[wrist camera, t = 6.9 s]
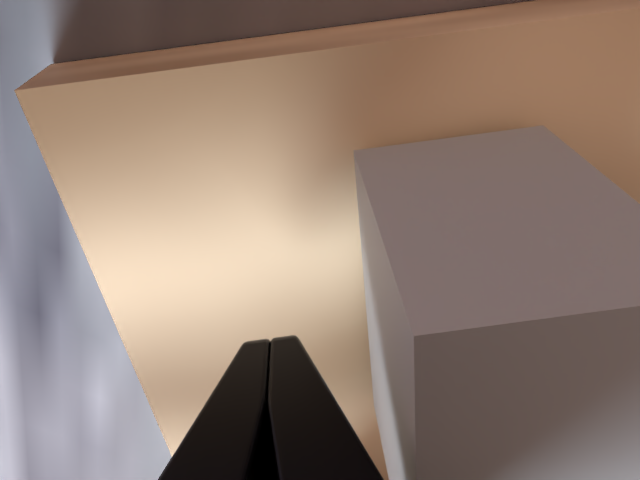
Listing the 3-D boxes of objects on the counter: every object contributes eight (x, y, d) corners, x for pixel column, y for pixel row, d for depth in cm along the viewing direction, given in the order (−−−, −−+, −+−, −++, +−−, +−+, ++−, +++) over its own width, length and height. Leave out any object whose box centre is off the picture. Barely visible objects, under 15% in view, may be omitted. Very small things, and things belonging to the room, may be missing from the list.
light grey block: (600, 374, 11) (745, 582, 8) (373, 404, 11) (418, 626, 8) (669, 108, 8) (967, 262, 5) (353, 150, 8) (414, 336, 5)
